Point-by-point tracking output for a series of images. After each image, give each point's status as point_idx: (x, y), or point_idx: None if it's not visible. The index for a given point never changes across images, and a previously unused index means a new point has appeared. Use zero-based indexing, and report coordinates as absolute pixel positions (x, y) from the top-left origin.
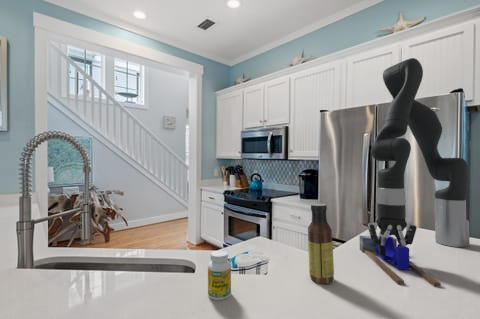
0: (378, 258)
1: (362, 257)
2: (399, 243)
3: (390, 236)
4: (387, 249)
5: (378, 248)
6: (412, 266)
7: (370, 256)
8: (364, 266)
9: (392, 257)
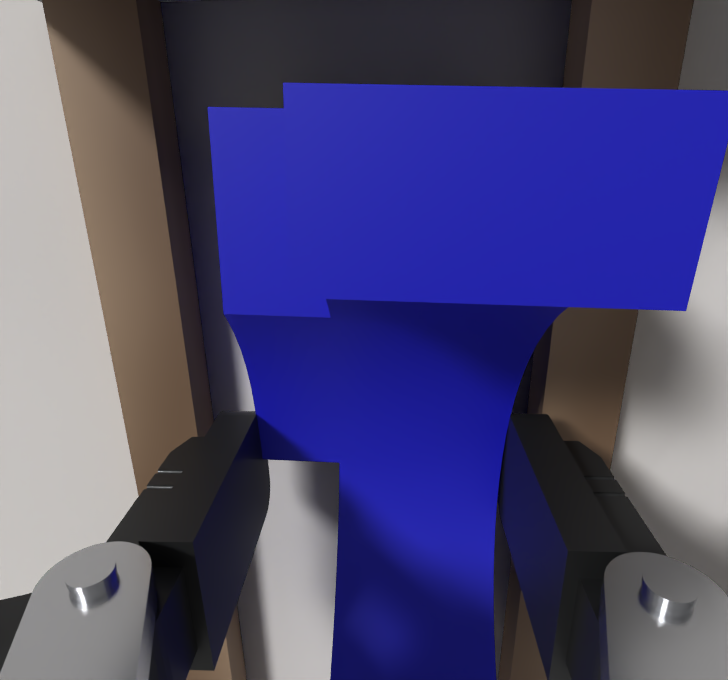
0: (194, 433)
1: (18, 273)
2: (587, 649)
3: (707, 122)
4: (382, 338)
5: (138, 501)
6: (520, 632)
7: (112, 316)
8: (13, 557)
9: (336, 581)
